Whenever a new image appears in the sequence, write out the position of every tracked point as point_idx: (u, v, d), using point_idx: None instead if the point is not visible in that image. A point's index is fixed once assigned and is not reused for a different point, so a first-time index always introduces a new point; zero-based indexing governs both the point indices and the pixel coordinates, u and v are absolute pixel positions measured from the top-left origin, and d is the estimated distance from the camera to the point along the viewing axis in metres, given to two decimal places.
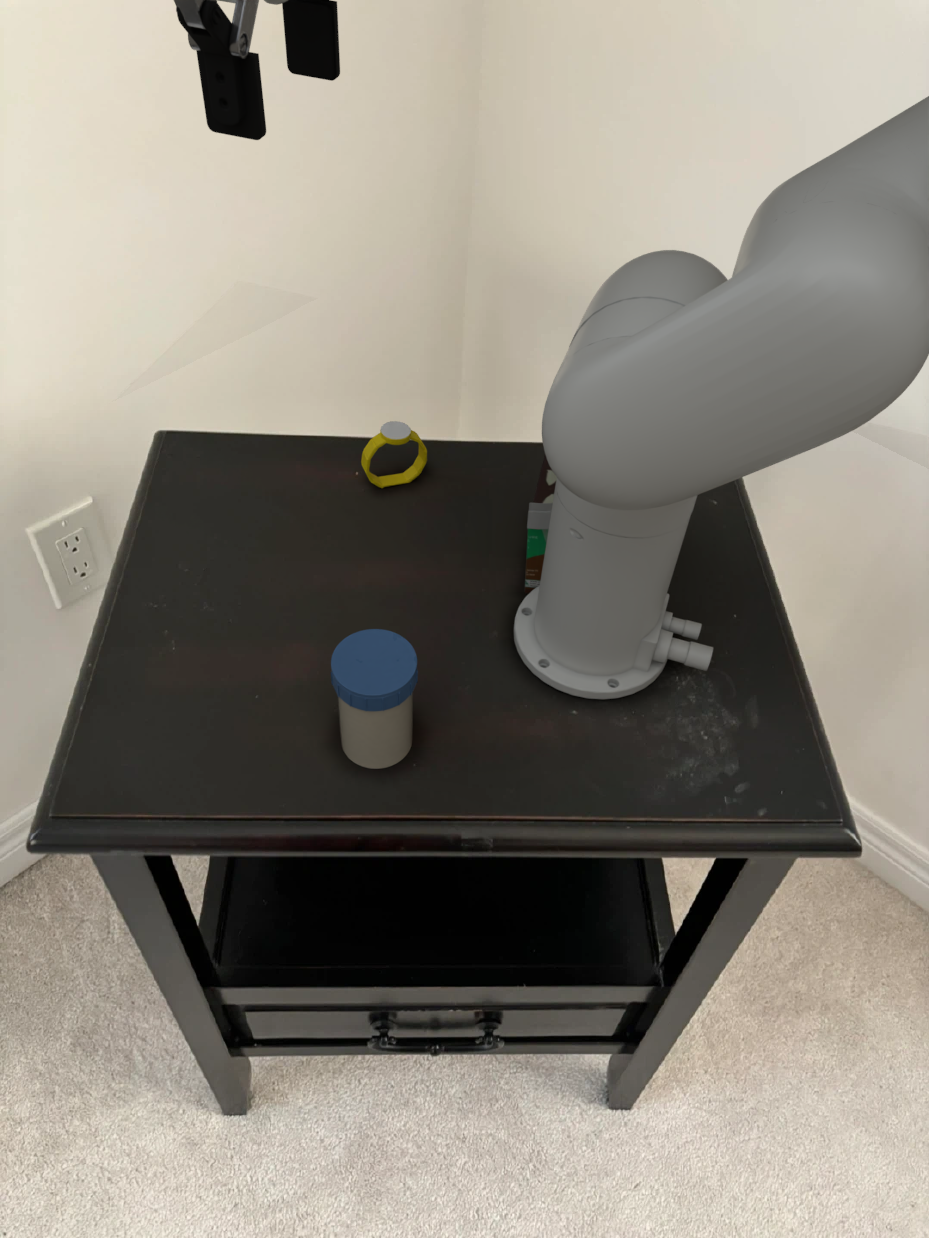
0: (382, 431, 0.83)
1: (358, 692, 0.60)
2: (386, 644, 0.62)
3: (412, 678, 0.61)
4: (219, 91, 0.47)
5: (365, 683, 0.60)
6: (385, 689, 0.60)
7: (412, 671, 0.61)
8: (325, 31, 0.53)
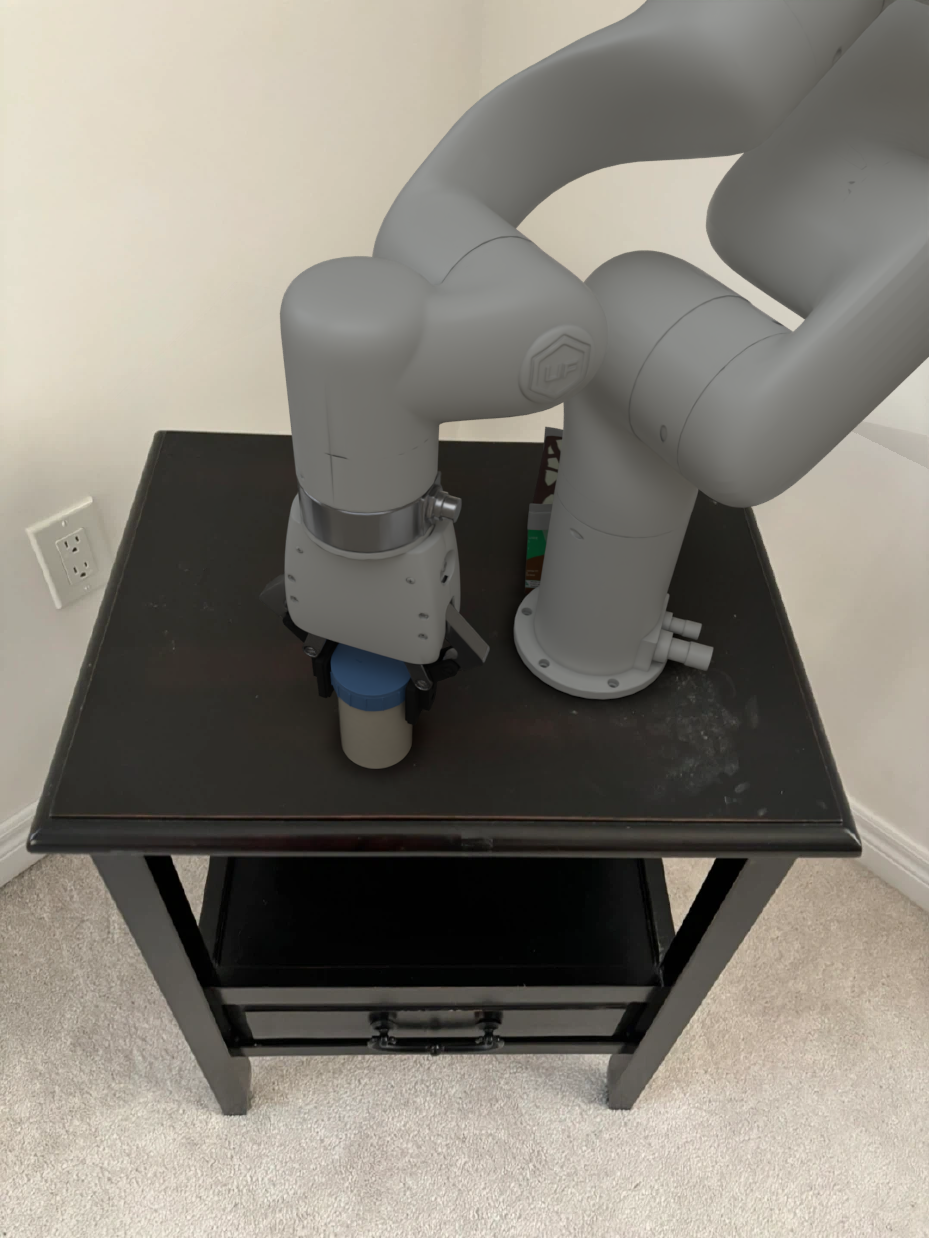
0: None
1: (357, 692, 0.60)
2: None
3: None
4: (431, 693, 0.62)
5: (365, 683, 0.60)
6: (385, 689, 0.60)
7: None
8: None
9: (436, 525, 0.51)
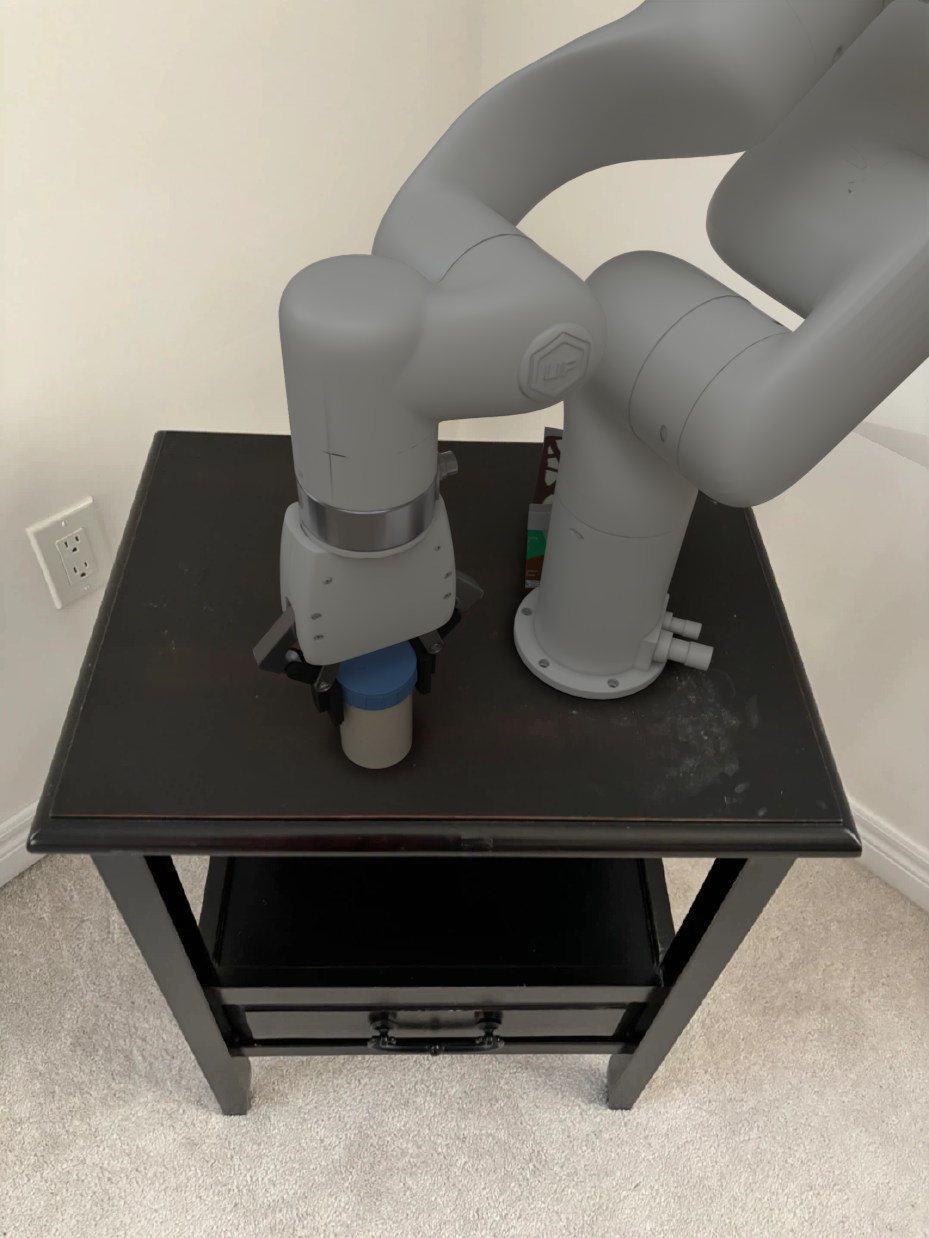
0: None
1: (390, 690, 0.60)
2: None
3: (414, 651, 0.62)
4: None
5: (387, 680, 0.60)
6: (407, 673, 0.61)
7: (410, 646, 0.62)
8: None
9: None
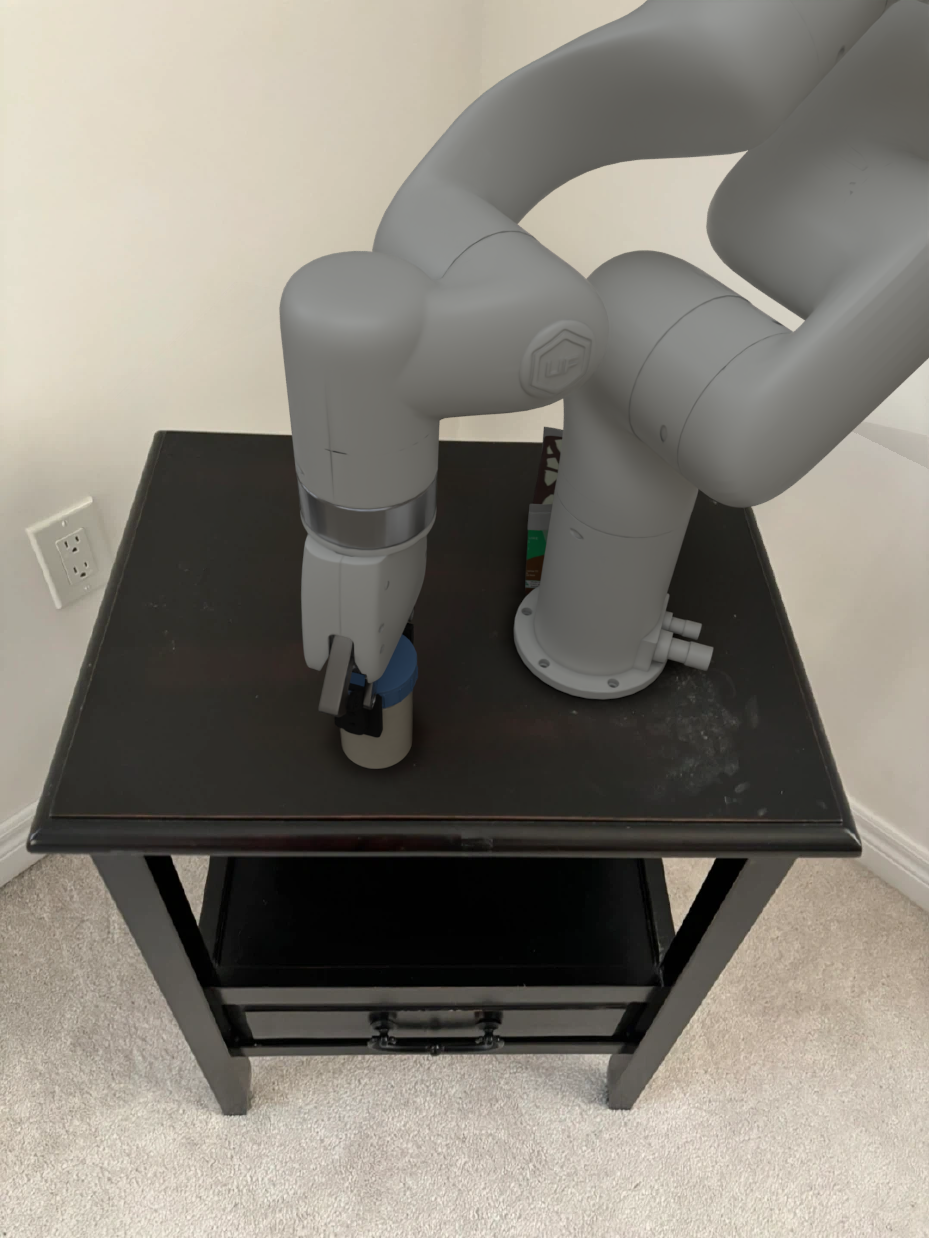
0: None
1: (414, 668, 0.61)
2: None
3: None
4: None
5: (402, 663, 0.61)
6: (409, 648, 0.62)
7: None
8: None
9: None
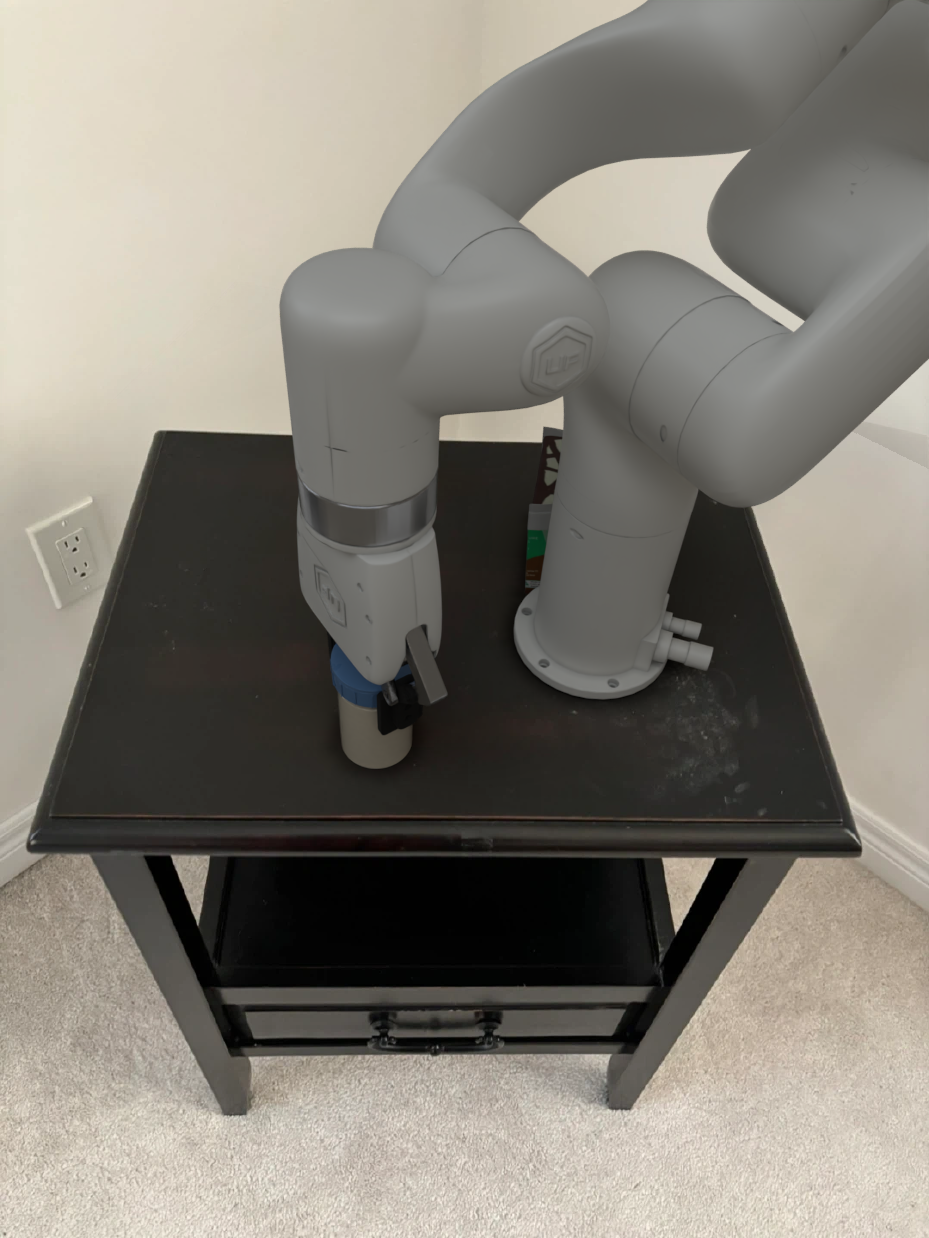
0: None
1: None
2: (351, 664, 0.61)
3: None
4: None
5: None
6: None
7: None
8: None
9: None
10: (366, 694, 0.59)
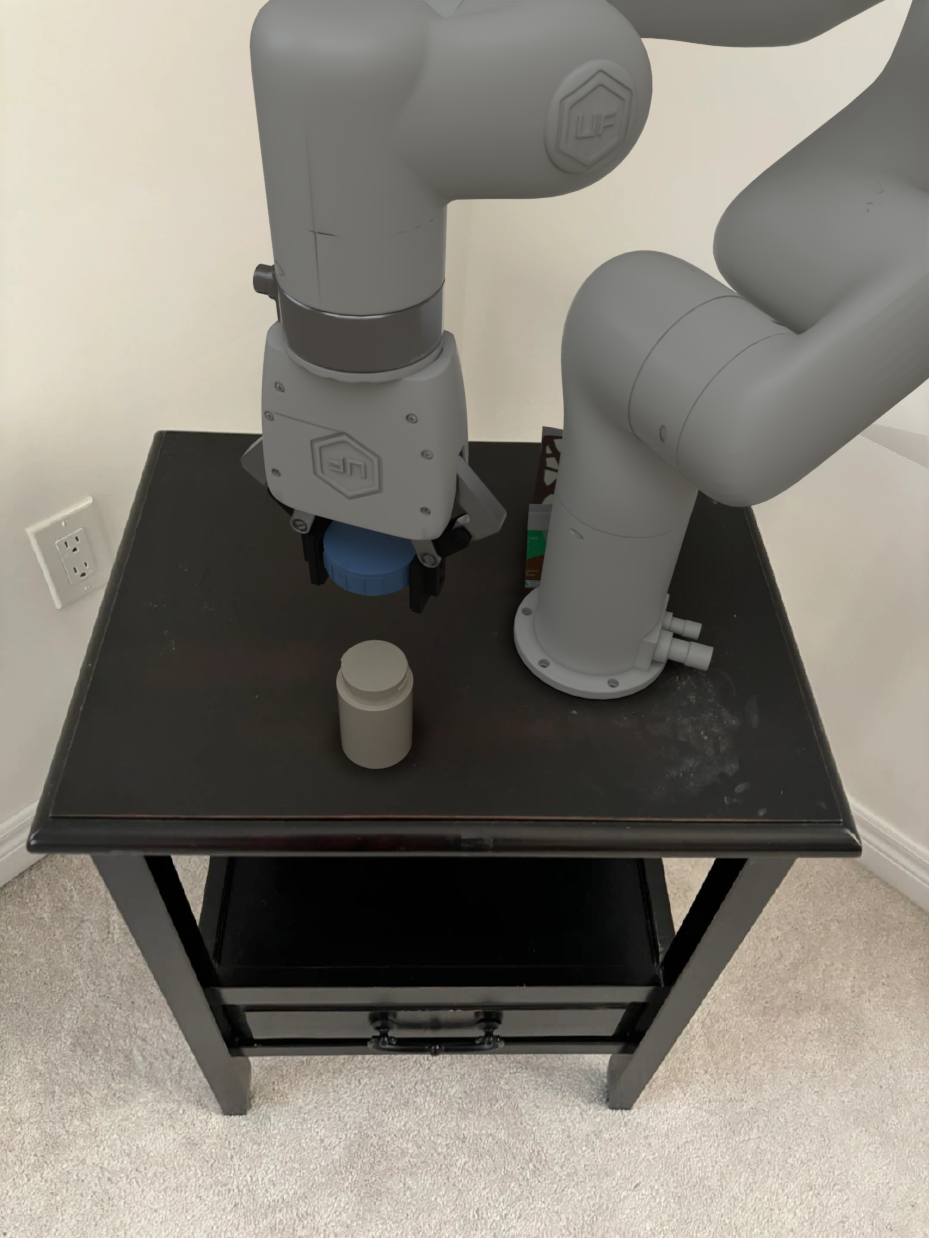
0: None
1: None
2: (358, 556, 0.52)
3: (330, 526, 0.54)
4: None
5: None
6: None
7: (329, 527, 0.54)
8: None
9: None
10: (396, 574, 0.52)
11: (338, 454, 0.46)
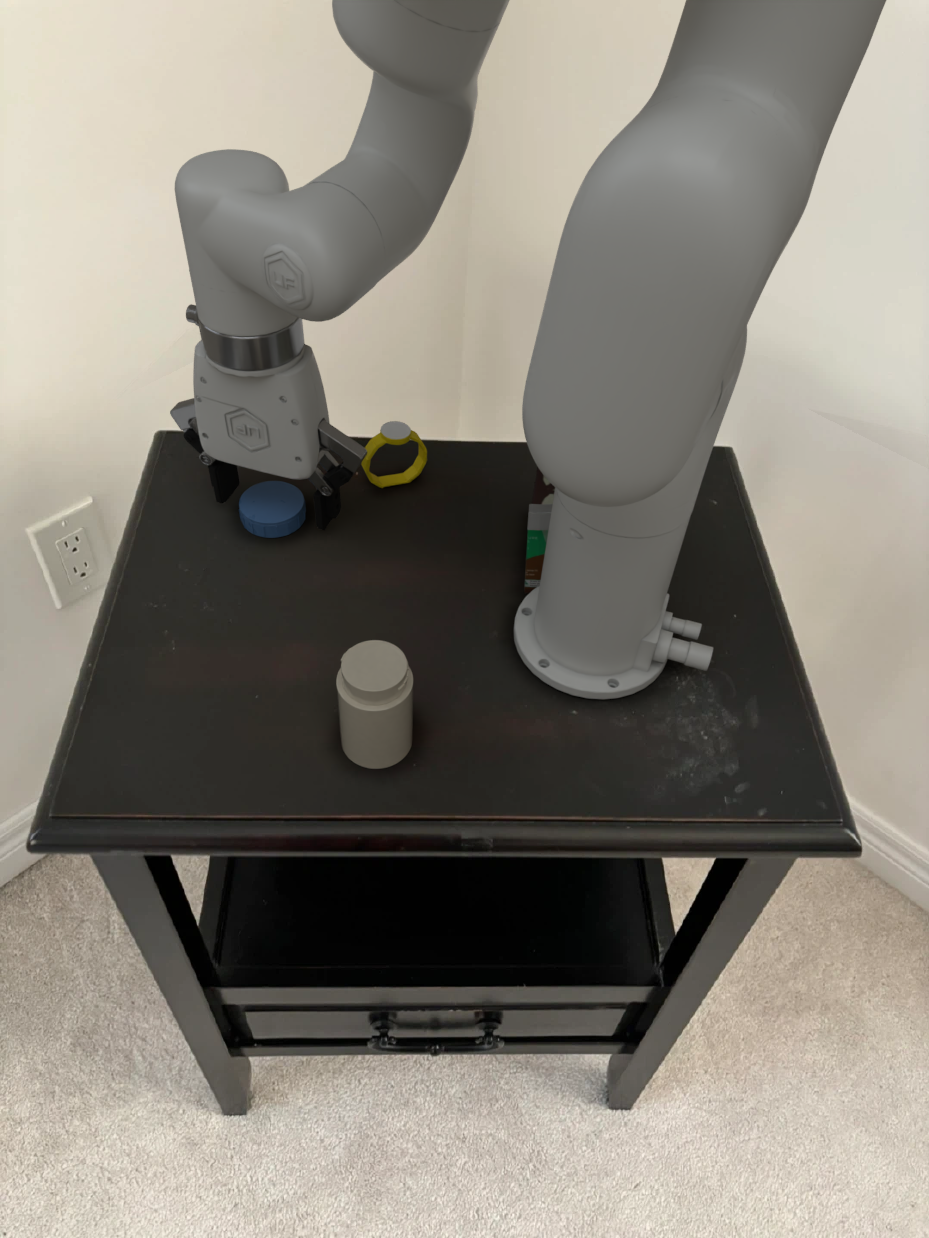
0: (382, 431, 0.83)
1: (285, 482, 0.84)
2: (260, 512, 0.81)
3: (244, 493, 0.83)
4: None
5: (279, 487, 0.84)
6: (265, 484, 0.84)
7: (243, 494, 0.83)
8: None
9: None
10: (284, 523, 0.81)
11: (242, 422, 0.73)
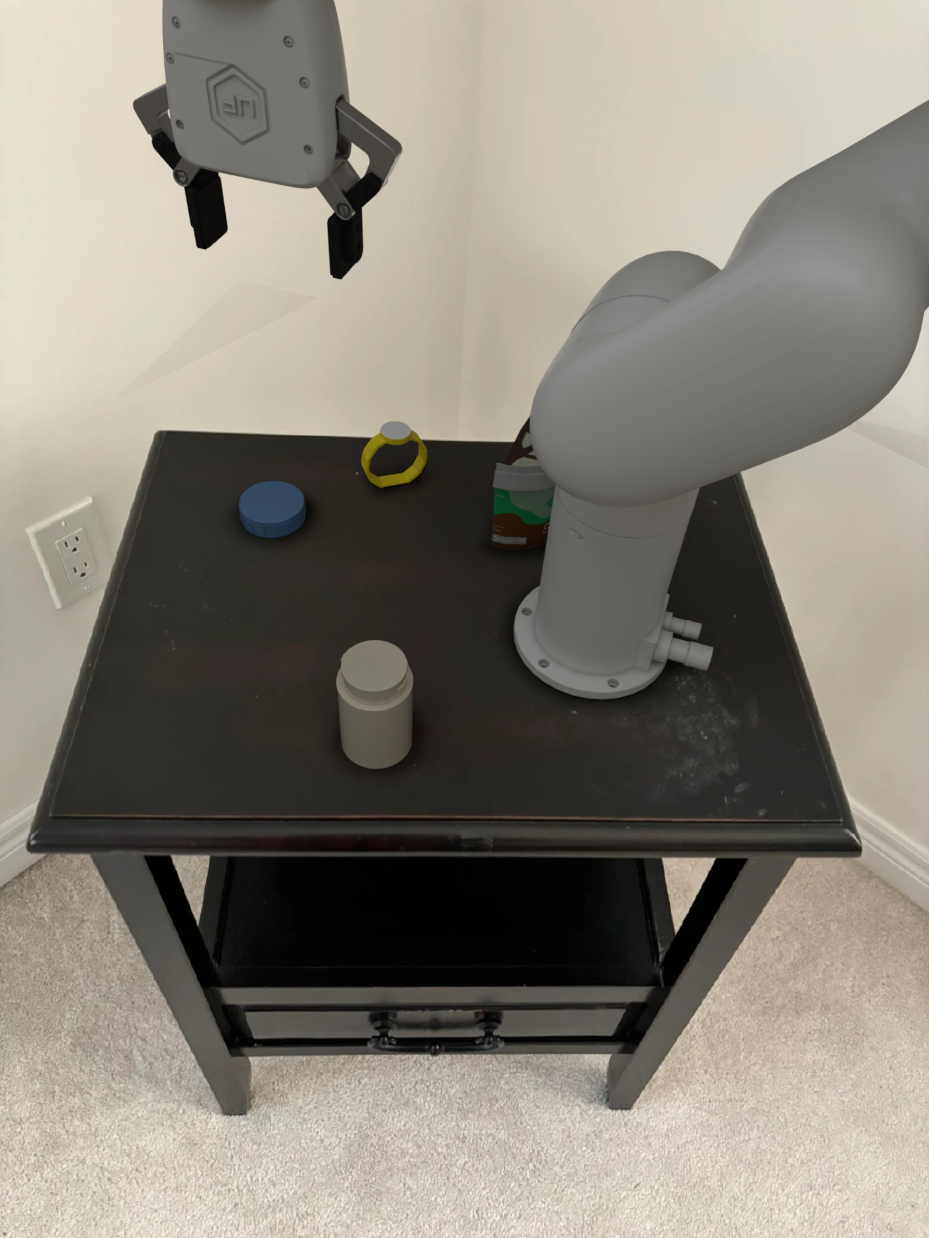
0: (382, 431, 0.83)
1: (285, 482, 0.84)
2: (260, 512, 0.81)
3: (244, 493, 0.83)
4: None
5: (279, 487, 0.84)
6: (265, 484, 0.84)
7: (243, 494, 0.83)
8: None
9: None
10: (284, 523, 0.81)
11: (230, 93, 0.52)
